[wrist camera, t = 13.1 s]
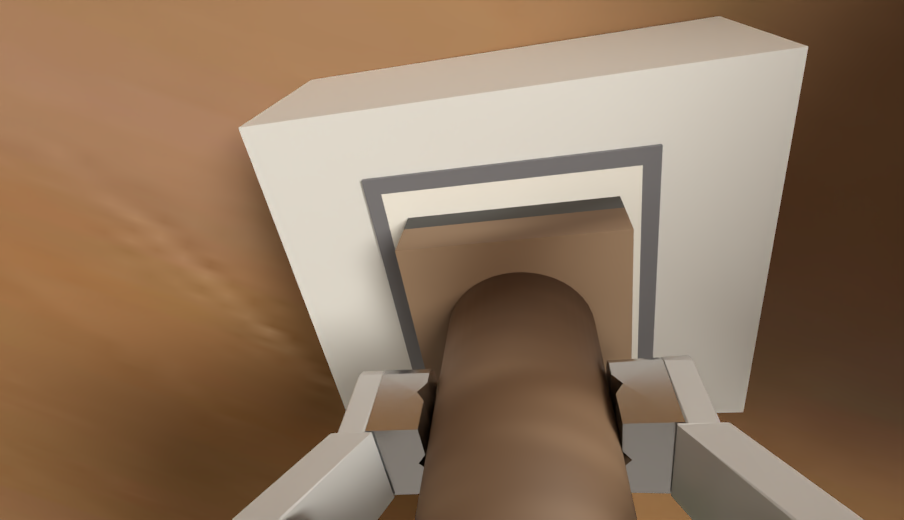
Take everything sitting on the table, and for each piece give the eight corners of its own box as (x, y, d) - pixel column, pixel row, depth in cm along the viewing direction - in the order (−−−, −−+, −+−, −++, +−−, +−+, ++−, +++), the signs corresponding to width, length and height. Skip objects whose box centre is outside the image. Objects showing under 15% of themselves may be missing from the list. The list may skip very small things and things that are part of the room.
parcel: (719, 16, 14) (810, 47, 10) (692, 308, 19) (744, 414, 15) (311, 79, 16) (236, 128, 12) (384, 328, 21) (350, 426, 17)
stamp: (620, 195, 12) (749, 506, 5) (619, 360, 14) (707, 707, 8) (408, 217, 12) (294, 505, 6) (443, 369, 15) (388, 687, 9)
